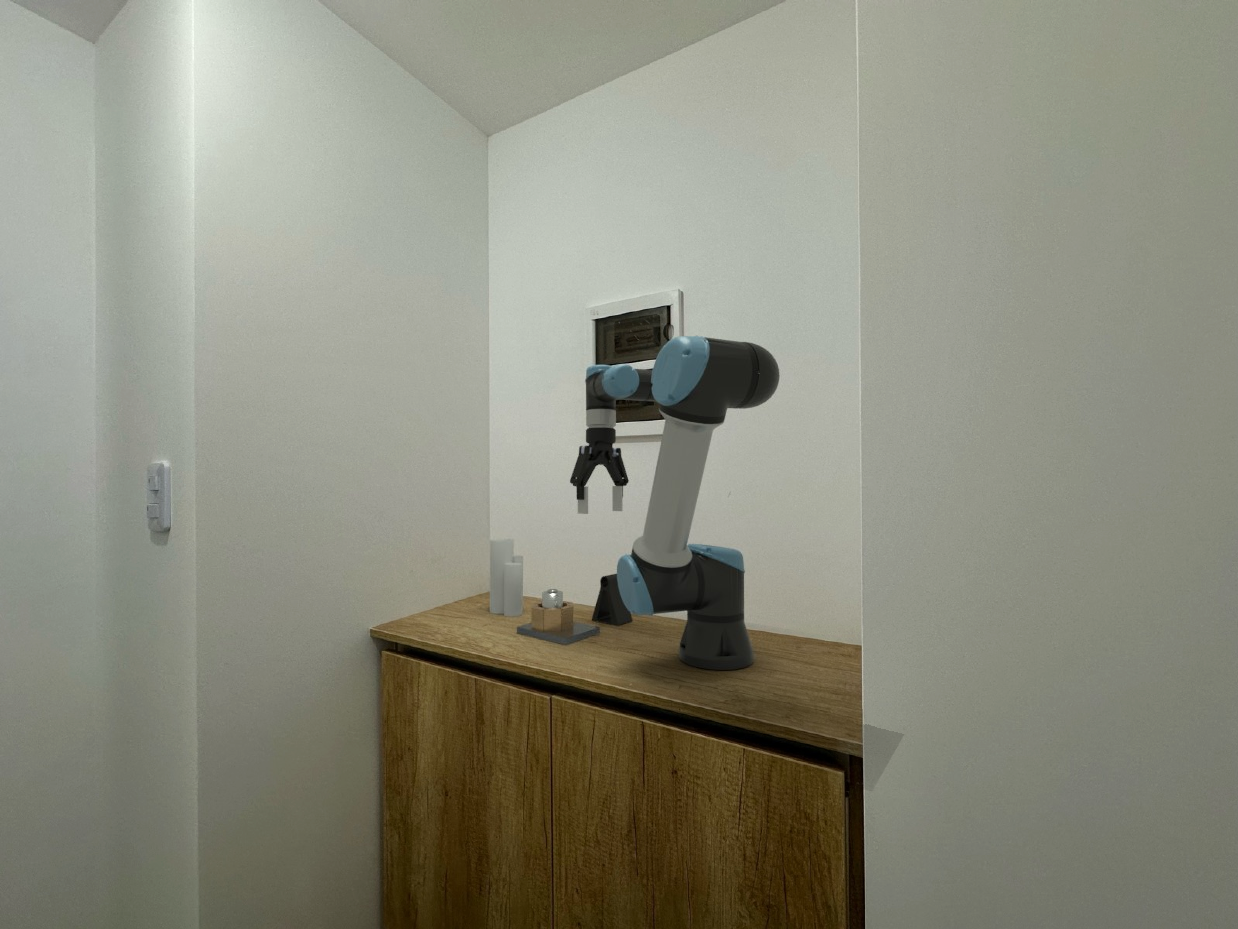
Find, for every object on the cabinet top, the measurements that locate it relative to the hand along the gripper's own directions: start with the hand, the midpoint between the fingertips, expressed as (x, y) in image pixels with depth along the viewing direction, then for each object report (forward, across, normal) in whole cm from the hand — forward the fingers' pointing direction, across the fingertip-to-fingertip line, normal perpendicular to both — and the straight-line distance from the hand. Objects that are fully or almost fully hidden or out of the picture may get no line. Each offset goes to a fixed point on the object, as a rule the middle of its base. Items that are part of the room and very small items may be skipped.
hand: (600, 512), depth 139 cm
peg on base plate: (+29, +10, -5) cm, 31 cm away
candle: (+29, +3, -31) cm, 42 cm away
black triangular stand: (+29, -7, -2) cm, 30 cm away
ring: (+27, +10, -7) cm, 30 cm away
